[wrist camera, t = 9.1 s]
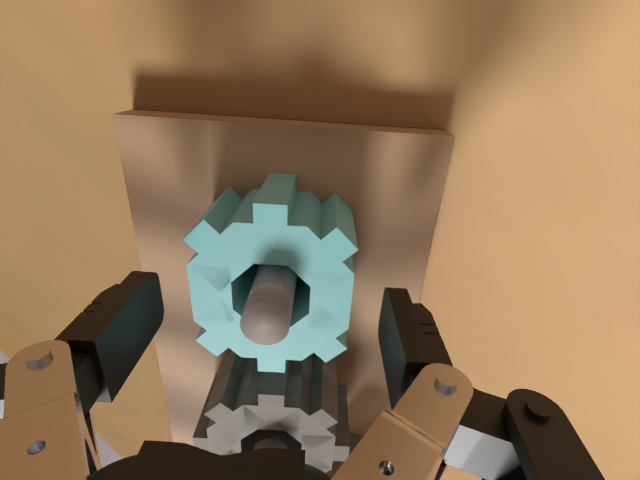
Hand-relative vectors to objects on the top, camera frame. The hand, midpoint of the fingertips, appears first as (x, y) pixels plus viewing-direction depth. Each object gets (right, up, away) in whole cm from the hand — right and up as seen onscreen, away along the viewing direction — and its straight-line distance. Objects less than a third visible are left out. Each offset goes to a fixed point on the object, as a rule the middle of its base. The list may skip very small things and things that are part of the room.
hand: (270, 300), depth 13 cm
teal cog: (0, +2, +3) cm, 4 cm away
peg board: (0, -2, +7) cm, 7 cm away
